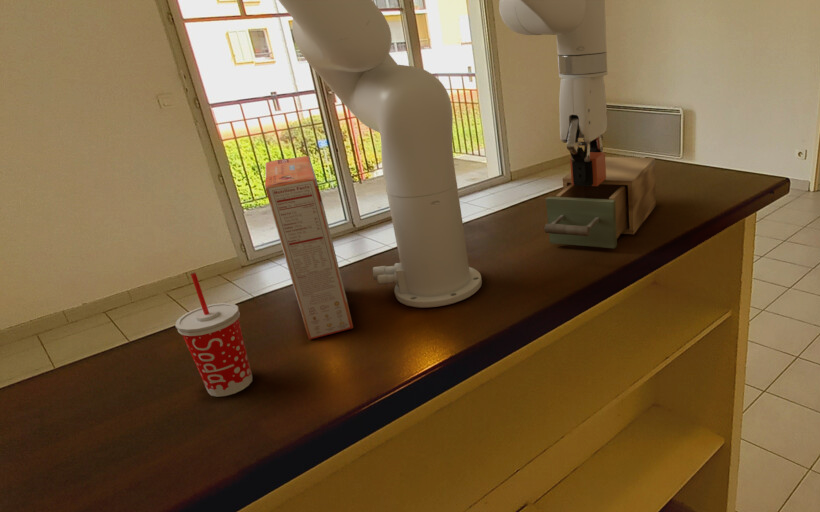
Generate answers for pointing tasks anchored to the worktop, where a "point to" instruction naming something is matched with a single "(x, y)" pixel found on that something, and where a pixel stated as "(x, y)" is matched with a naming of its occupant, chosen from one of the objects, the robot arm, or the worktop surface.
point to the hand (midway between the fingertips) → (588, 179)
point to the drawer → (588, 215)
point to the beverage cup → (216, 345)
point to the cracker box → (307, 245)
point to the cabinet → (631, 186)
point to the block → (595, 167)
